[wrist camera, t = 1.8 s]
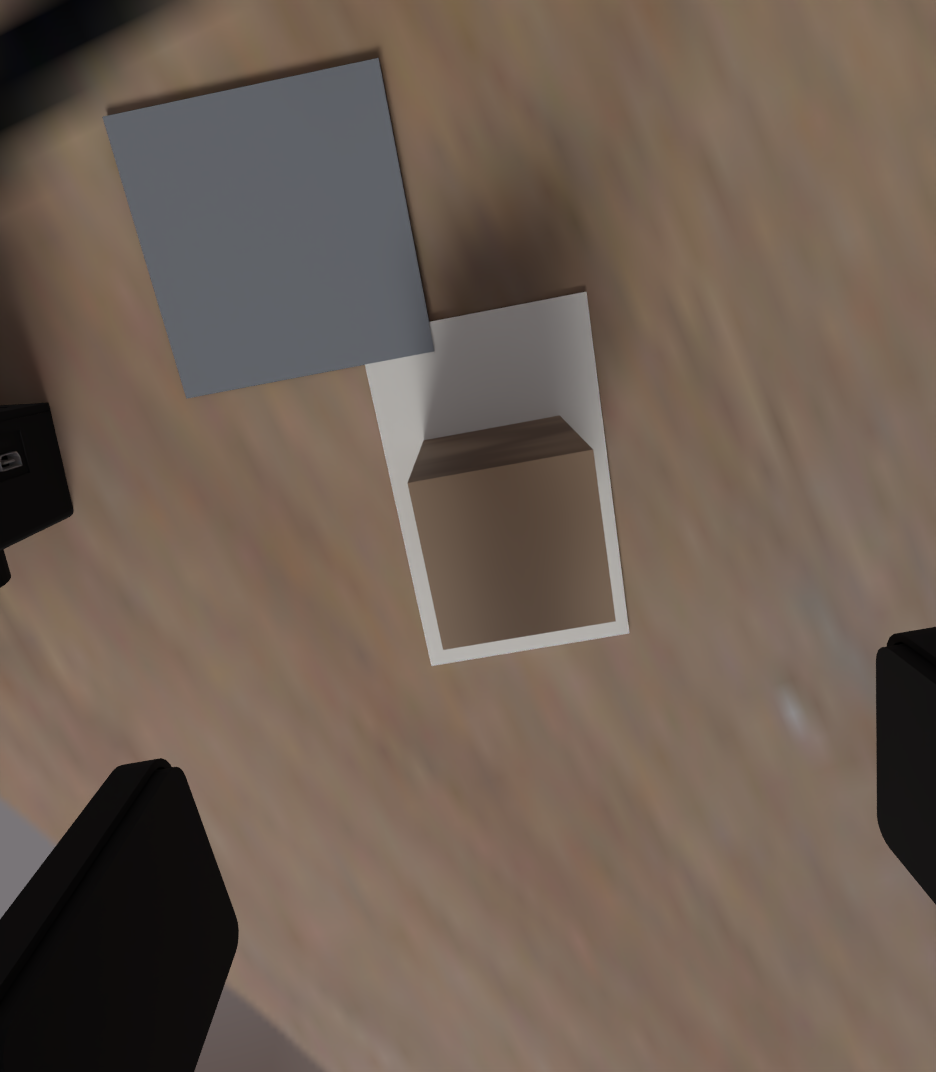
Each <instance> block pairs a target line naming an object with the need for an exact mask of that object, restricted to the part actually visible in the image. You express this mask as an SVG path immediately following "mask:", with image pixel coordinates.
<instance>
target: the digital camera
mask: <svg viewBox="0 0 936 1072" xmlns="http://www.w3.org/2000/svg"><path fill="white" fill-rule="evenodd" d="M48 411H49V412H48ZM34 414H35V415H34ZM20 417H21V418H20ZM72 514H73V507H72V503H71V499H70V494H69V490H68V486H67V481H66V477H65V473H64V468H63V464H62V460H61V455H60V451H59V447H58V442H57V438H56V434H55V429H54V425H53V421H52V416H51V412H50V407H49V404H48V403H35V404H18V405H1V406H0V587H2V586H4V585H5V584H6V583H7V582H8V581H9V580H10V578H11V574H10V570H9V567H8V563H7V560H6V556H5V553H4V549H5V548H7V547H9V546H11V545H13V544H15V543H17V542H19V541H21V540H23V539H25V538H27V537H29V536H31V535H33V534H35V533H37V532H39V531H42V530H44V529H46V528H48V527H50V526H52V525H54V524H56V523H58V522H60V521H62V520H64V519H66V518H68V517H70V516H71V515H72Z"/></svg>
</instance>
